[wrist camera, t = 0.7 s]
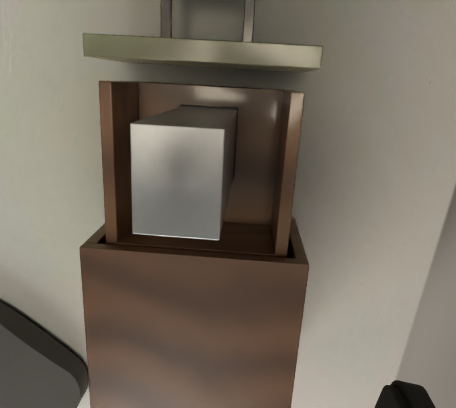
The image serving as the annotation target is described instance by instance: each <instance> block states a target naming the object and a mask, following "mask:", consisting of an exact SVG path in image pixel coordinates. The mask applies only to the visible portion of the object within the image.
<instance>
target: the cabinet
mask: <svg viewBox="0 0 456 408" xmlns="http://www.w3.org/2000/svg"><path fill="white" fill-rule="evenodd" d="M80 261H81V275H82V290H83V305H84V319H85V334H86V348H87V363H88V377H89V392H90V407H91V408H291V401H292V393H293V386H294V378H295V371H296V363H297V355H298V348H299V340H300V332H301V325H302V317H303V309H304V302H305V294H306V286H307V279H308V271H309V263H308V260H307V257H306V254H305V251H304V247H303V244H302V241H301V237H300V234H299V231H298V227H297V224H296V221H295V219H291V223H290V232H289V241H288V250H287V258H279V257H266V256H253V255H240V254H227V253H214V252H200V251H187V250H174V249H161V248H148V247H135V246H122V245H109V244H106V229H105V224H104V225H103V226H102V227H101V228H100V229H99V230H97V231H96V232H95V233H94V234H93V235H92V236H91V237H90V238H89V239H88V240H87V241H86V242H85V243H84V244H83V245H82V246H81V247H80Z"/></svg>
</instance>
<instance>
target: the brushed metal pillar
mask: <svg viewBox="0 0 456 408" xmlns="http://www.w3.org/2000/svg"><path fill="white" fill-rule="evenodd" d="M238 110H239V108H235V107H218V106H201V105H185V104H181V105H179V107H178V108H175V109H172V110H169V111H166V112H163V113H160V114H157V115H154V116H151V117H148V118H145V119H142V120H139V121H136V122H133V123H130V144H131V188H132V231H133V234H144V235H157V236H171V237H184V238H197V239H211V240H219V239H220V235H221V230H222V225H223V221H224V216H225V211H226V207H227V202H228V198H229V193H230V188H231V184H232V180H234V176H235V159H236V143H237V126H238Z"/></svg>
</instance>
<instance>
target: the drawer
mask: <svg viewBox="0 0 456 408" xmlns="http://www.w3.org/2000/svg"><path fill="white" fill-rule="evenodd" d="M254 13H255V0H245V9H244V25H243V42H241V41H222V40H203V39H183V38H172V0H161V37H145V36H126V35H107V34H88V33H83V47H84V56H87V57H94V58H100V59H107V60H113V61H119V62H131V63H149V64H167V65H186V66H204V67H222V68H240V69H258V70H276V71H294V72H307V71H312V70H317V69H321V62H322V54H323V46H317V45H298V44H279V43H260V42H253V27H254ZM304 96H305V93H304V92H299V91H294V90H278V89H260V88H243V87H225V86H208V85H190V84H173V83H156V82H138V81H99V98H100V120H101V142H102V164H103V186H104V207H105V229H106V244H109V245H122V246H135V247H148V248H161V249H174V250H187V251H200V252H214V253H227V254H240V255H253V256H266V257H279V258H287V250H288V241H289V232H290V223H291V214H292V205H293V196H294V187H295V178H296V169H297V160H298V151H299V142H300V133H301V123H302V114H303V105H304ZM181 104H185V105H201V106H218V107H235V108H239V110H238V126H237V143H236V159H235V176H234V180H232V184H231V188H230V193H229V198H228V202H227V207H226V211H225V216H224V221H223V225H222V230H221V235H220V239H219V240H211V239H197V238H184V237H171V236H157V235H144V234H133V231H132V188H131V144H130V123H133V122H136V121H139V120H142V119H145V118H148V117H151V116H154V115H157V114H160V113H163V112H166V111H169V110H172V109H175V108H178V107H179V105H181Z"/></svg>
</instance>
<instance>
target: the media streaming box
mask: <svg viewBox="0 0 456 408" xmlns="http://www.w3.org/2000/svg"><path fill="white" fill-rule="evenodd" d="M87 386H88V374H87V371H86V369H85V367H84V365H83V363H82V362H81V361H80V359H79V358H78V357H76V356H75V355H74V354H73V353H72V352H70V351H69V350H68V349H67V348H65V347H64V346H63V345H61V344H60V343H59V342H58V341H56V340H55V339H54V338H52V337H51V336H50V335H48V334H47V333H46V332H44V331H43V330H41V329H40V328H39V327H37V326H36V325H34V324H33V323H32V322H30V321H29V320H27V319H26V318H24V317H23V316H22V315H20V314H19V313H17V312H16V311H14V310H13V309H11V308H10V307H8V306H7V305H5V304H3V303H1V302H0V408H77V406H78V404H79V402H80V400H81V398H82V397H83V395H84V393H85V391H86V389H87Z"/></svg>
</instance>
